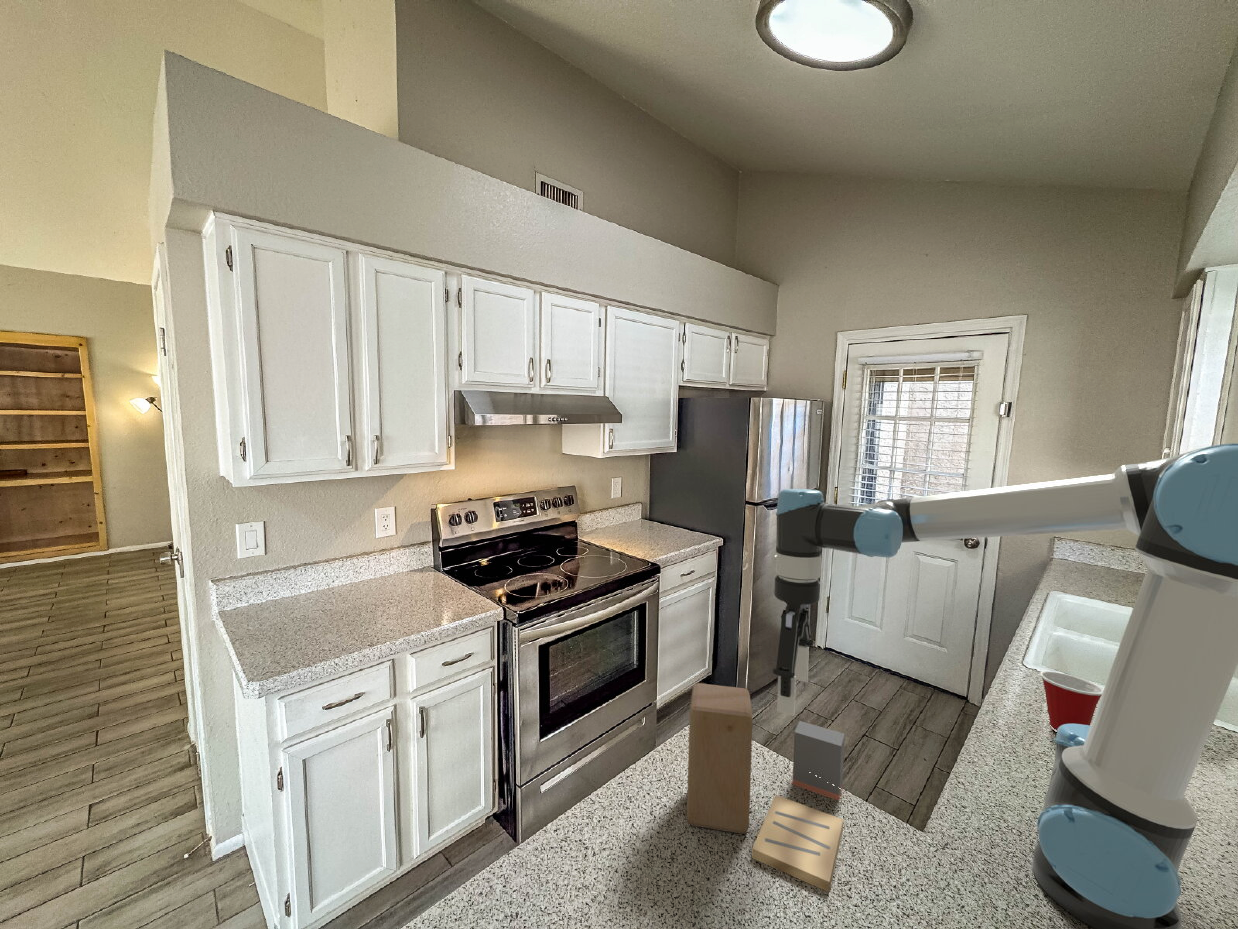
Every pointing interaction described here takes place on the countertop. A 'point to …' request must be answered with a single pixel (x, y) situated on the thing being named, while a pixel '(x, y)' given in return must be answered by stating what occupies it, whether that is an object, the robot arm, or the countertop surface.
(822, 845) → the board
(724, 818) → the wooden block
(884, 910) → the countertop surface
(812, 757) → the block
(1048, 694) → the plastic cup
